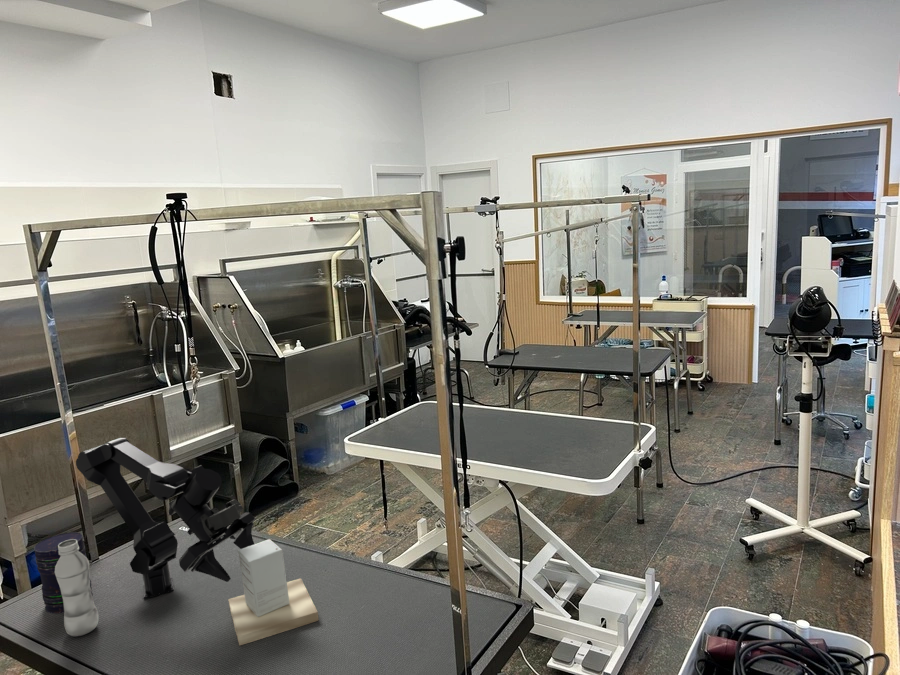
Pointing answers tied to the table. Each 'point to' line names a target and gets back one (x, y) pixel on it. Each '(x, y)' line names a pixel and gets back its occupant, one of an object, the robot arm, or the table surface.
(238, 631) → the ash board
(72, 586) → the plastic bottle
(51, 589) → the storage jar
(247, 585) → the supplement box
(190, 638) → the table surface
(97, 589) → the table surface
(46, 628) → the table surface
